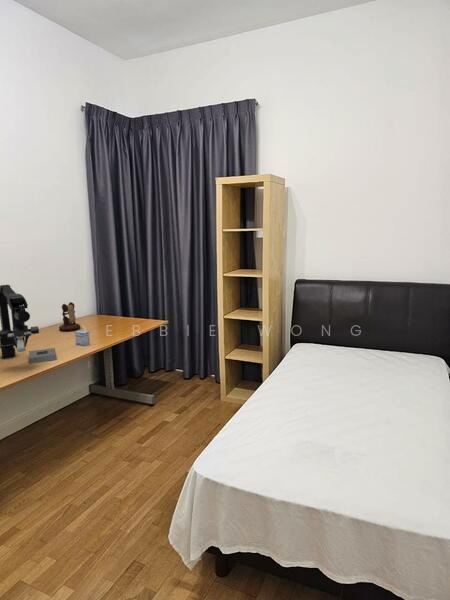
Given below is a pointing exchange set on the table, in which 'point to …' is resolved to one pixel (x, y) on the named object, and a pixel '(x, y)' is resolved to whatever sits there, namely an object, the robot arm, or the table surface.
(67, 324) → the brown figurine
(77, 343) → the medicine box
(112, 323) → the table surface
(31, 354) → the socket block
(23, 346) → the silver flanged peg
